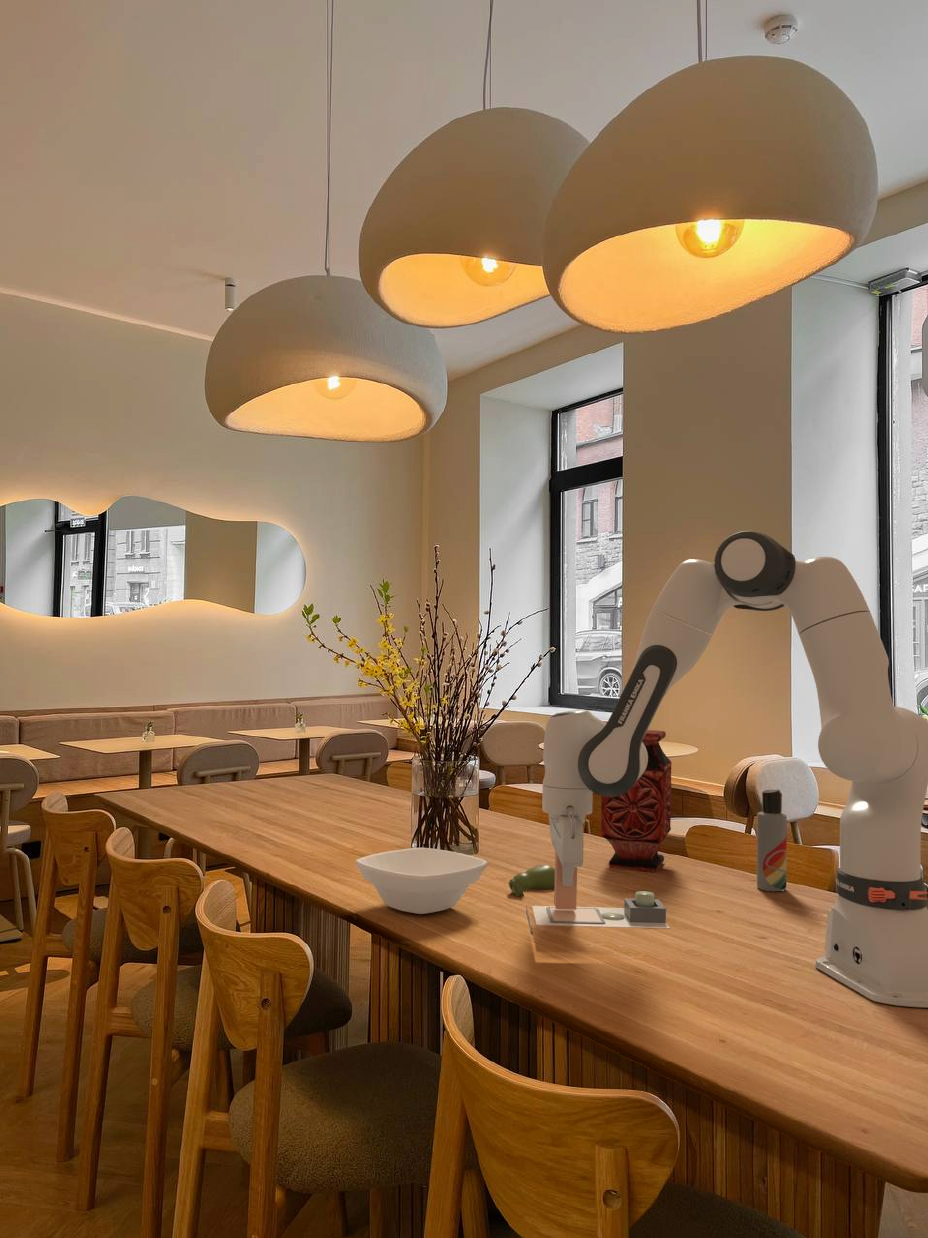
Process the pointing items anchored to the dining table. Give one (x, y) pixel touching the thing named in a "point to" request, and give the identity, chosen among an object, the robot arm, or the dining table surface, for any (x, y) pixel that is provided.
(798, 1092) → the dining table surface
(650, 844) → the vase
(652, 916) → the button housing
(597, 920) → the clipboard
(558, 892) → the terracotta rectangular block
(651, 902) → the button
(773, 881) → the lotion bottle
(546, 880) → the pear
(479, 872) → the bowl
